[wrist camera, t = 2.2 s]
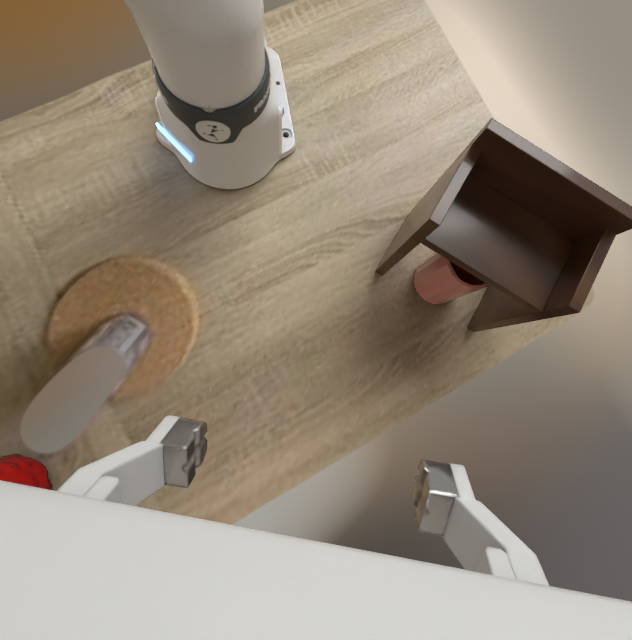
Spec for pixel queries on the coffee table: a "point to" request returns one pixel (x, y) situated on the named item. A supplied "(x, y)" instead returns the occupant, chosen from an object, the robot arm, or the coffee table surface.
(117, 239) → the coffee table surface
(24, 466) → the red clay folk toy
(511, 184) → the dark wooden stand
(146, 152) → the coffee table surface
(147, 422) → the coffee table surface
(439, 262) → the cup
